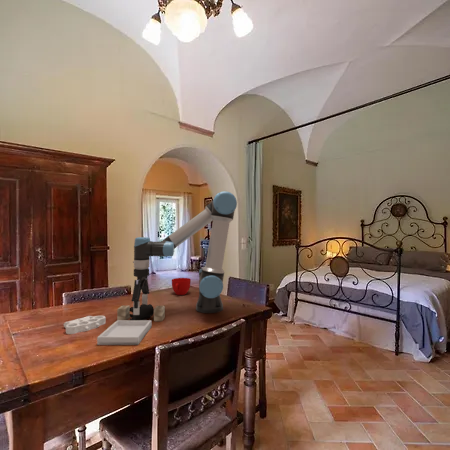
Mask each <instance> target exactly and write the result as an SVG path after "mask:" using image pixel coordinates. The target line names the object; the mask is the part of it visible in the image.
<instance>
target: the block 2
mask: <svg viewBox="0 0 450 450" xmlns="http://www.w3.org/2000/svg"><path fill="white" fill-rule="evenodd" d="M153 308H154V314H153V321H154V322H163V320H165V317H166V314H165V313H166V312H165V311H166V307H165V305H156V306H155V307H153Z"/></svg>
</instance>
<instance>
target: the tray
mask: <svg viewBox="0 0 450 450" xmlns="http://www.w3.org/2000/svg"><path fill="white" fill-rule="evenodd" d="M152 325H153V324H152V320H150V319H149V320H147V319H143V320H130V319H127V320H116V321H115V322H113V323H112V324H111V325H109V326H108V327H107V329H105V330H104V331H103V332H101V333H100V334H99V335H98V336H97V337H96V338H97V339H96V341H97V343H96V345H97V346H138V345H139V344H140V343H141V342H142V340H143V339H144V338H145V336H146V335H147V334H148V333H149V331H150V330H151V329H152V328H153V327H152Z"/></svg>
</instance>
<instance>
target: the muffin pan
mask: <svg viewBox="0 0 450 450" xmlns="http://www.w3.org/2000/svg"><path fill="white" fill-rule="evenodd" d="M106 321H107V319H106V316H105V315H94V316H93V315H87V316H85V317H81V318H76V319H72V320H69V321H65V322H64V323H63V327H64V328H65V334H66V335H76V334H78V333H85V332H87V331H90V330H95V329H97V328H99V327H100V326H103V325H106V324H107V323H106Z"/></svg>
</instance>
